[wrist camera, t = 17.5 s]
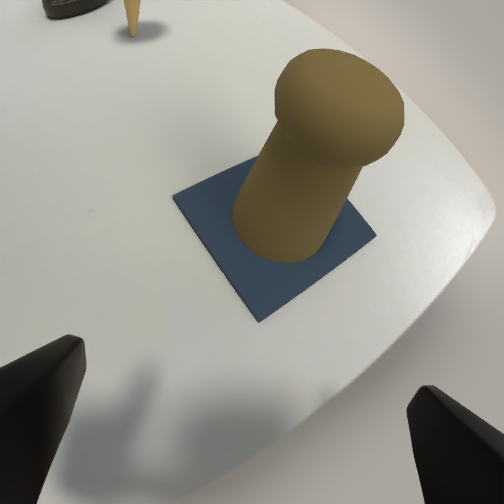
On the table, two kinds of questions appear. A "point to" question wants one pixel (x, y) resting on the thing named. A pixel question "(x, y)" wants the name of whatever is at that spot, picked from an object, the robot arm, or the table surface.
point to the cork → (315, 152)
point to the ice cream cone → (132, 14)
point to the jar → (69, 7)
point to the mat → (251, 265)
